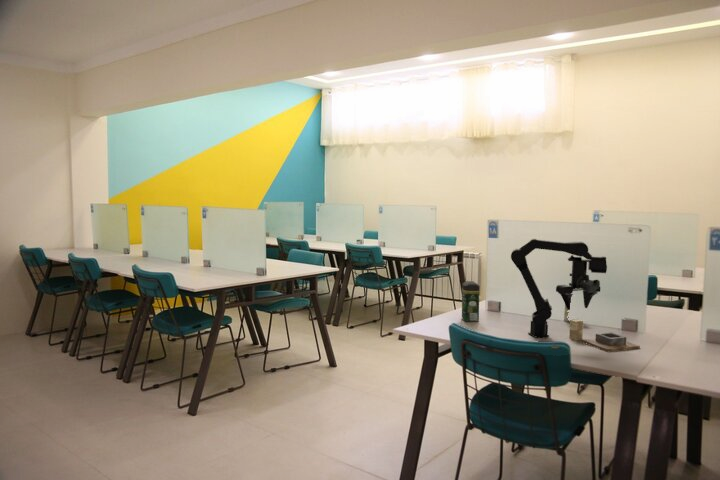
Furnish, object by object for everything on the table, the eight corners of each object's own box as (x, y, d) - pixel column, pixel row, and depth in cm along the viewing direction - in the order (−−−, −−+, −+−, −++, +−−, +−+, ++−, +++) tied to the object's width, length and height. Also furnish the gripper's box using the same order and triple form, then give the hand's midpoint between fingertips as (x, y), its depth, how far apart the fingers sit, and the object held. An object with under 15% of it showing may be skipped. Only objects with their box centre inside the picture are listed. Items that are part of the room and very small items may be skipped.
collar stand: (607, 351, 210) (607, 341, 210) (582, 342, 223) (582, 332, 223) (639, 348, 215) (640, 338, 215) (613, 339, 228) (613, 329, 228)
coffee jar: (460, 317, 266) (461, 280, 264) (476, 317, 266) (477, 280, 264) (463, 322, 256) (464, 283, 254) (480, 322, 256) (481, 283, 254)
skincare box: (563, 321, 260) (564, 296, 258) (564, 319, 263) (565, 294, 262) (578, 322, 257) (579, 297, 256) (579, 320, 260) (580, 295, 259)
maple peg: (575, 340, 226) (576, 321, 225) (569, 338, 229) (570, 319, 229) (582, 339, 227) (583, 320, 226) (576, 337, 231) (577, 319, 230)
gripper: (574, 275, 215) (572, 314, 217) (611, 273, 222) (609, 311, 223) (555, 271, 226) (554, 308, 227) (591, 270, 232) (589, 305, 233)
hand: (577, 308), depth 227 cm, fingers open, 9 cm apart
